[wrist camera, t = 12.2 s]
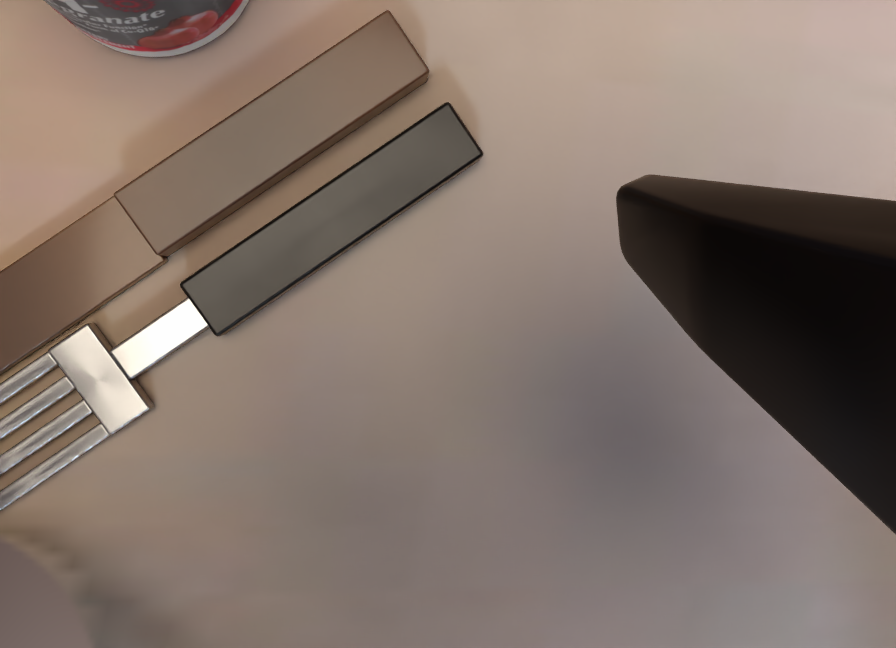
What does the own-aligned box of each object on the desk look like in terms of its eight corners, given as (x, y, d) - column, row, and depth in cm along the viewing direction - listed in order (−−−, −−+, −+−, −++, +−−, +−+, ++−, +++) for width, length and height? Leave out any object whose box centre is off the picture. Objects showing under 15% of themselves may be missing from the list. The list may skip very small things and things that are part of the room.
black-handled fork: (434, 90, 22) (437, 82, 21) (491, 176, 22) (496, 170, 21) (-95, 449, 21) (-117, 457, 20) (-31, 533, 21) (-49, 544, 20)
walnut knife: (385, 17, 21) (386, 4, 20) (430, 84, 22) (432, 74, 21) (-158, 382, 21) (-185, 387, 20) (-108, 447, 21) (-132, 456, 20)
